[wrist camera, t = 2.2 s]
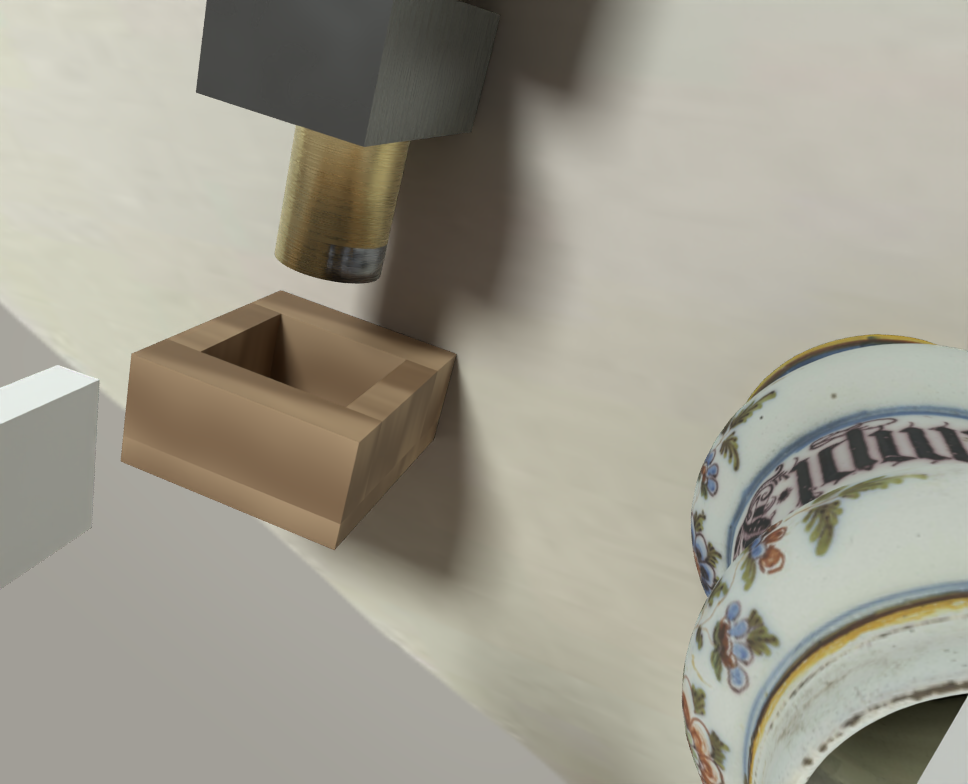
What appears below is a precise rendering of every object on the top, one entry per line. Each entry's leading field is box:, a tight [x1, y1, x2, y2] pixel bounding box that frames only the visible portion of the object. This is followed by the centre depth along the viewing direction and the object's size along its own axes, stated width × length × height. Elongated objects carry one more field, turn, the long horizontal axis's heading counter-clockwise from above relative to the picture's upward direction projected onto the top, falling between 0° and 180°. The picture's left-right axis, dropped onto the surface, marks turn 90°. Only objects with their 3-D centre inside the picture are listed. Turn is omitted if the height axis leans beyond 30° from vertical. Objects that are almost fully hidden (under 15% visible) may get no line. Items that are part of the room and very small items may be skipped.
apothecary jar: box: [682, 334, 968, 784], centre depth 23 cm, size 12×12×18 cm
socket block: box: [121, 291, 456, 550], centre depth 31 cm, size 4×8×10 cm, turn 75°
